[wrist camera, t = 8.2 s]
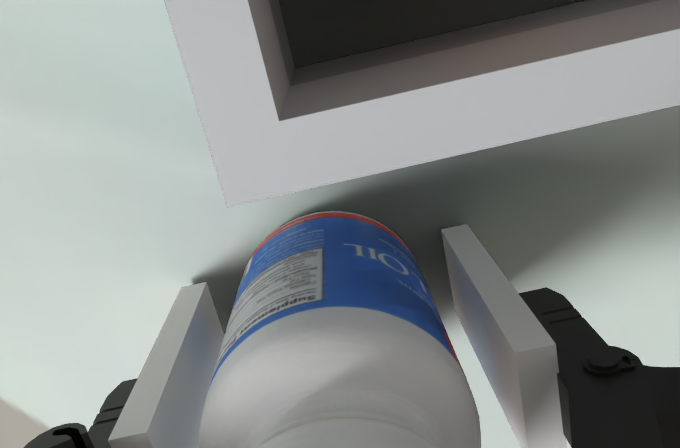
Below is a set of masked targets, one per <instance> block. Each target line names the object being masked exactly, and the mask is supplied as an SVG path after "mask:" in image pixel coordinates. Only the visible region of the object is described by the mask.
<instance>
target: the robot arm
mask: <svg viewBox="0 0 680 448" xmlns="http://www.w3.org/2000/svg"><path fill="white" fill-rule="evenodd" d="M441 233H442V238H443V244H444V250H445V256H446V261H447V267H448V273H449V279H450V284H451V290H452V296H453V302H454V307H455V312H456V314H457V316H458V318H459V320H460V322H461V324H462V326H463V328H464V330H465V332H466V334H467V337H468V339H469V341H470V343H471V345H472V347H473V349H474V351H475V353H476V355H477V357H478V359H479V361H480V363H481V366H482V368H483V370H484V372H485V374H486V376H487V378H488V380H489V382H490V384H491V386H492V388H493V390H494V392H495V395H496V397H497V399H498V401H499V403H500V405H501V407H502V409H503V411H504V413H505V415H506V417H507V419H508V421H509V424H510V426H511V428H512V430H513V432H514V434H515V436H516V438H517V440H518V442H519V444H520V446H521V448H567V442H566V439H567V440H568V442H569V444H570V445H571V447H572V448H680V367H650V366H645V365H643V364H642V363H641V361H640V359H639V358H638V357H637V356H636V355H634V354H633V353H631V352H629V351H628V350H625V349H621V348H618V347H615V346H608V345H607V344H606V342H605V341H604V340H603V339H602V338H601V337H600V336H599V335H598V333H597V332H596V331H595V330H594V329H593V328H592V327H591V326H590V325H589V323H588V322H587V321H586V320H585V319H584V318H582V317H581V315H580V313H579V312H578V311H577V310H576V309H574V308H573V306H572V305H571V303H570V302H569V301H568V300H567V299H566V298H565V297H564V296H563V295H561V294H559V293H557V292H555V291H553V290H551V289H548V288H542V289H537V290H533V291H528V292H523V293H519V294H518V292H517V291H516V290H515V288H514V287H513V286H512V284H511V283H510V282H509V280H508V279H507V277H506V276H505V275H504V273H503V272H502V271H501V269H500V268H499V267H498V265H497V264H496V263H495V261H494V260H493V259H492V257H491V256H490V255H489V253H488V252H487V250H486V249H485V248H484V246H483V245H482V244H481V242H480V241H479V240H478V238H477V237H476V236H475V234H474V233H473V232H472V230H471V229H470V228H469V226H468V225H467V224H463V225H459V226H454V227H450V228H445V229H441ZM223 339H224V333H223V330H222V327H221V324H220V321H219V318H218V315H217V312H216V309H215V306H214V303H213V300H212V297H211V294H210V291H209V288H208V285H207V282H203V283H199V284H194V285H190V286H185V287H182V288H181V290H180V292H179V294H178V296H177V298H176V300H175V302H174V304H173V306H172V308H171V310H170V312H169V315H168V317H167V319H166V321H165V323H164V325H163V327H162V329H161V331H160V333H159V335H158V337H157V339H156V342H155V344H154V346H153V348H152V350H151V352H150V354H149V356H148V358H147V360H146V362H145V364H144V366H143V369H142V371H141V373H140V375H139V377H138V378H137V379H133V380H128V381H124V382H121V383H120V384H119V385H118V386H117V387H116V388H115V389H114V390H113V391H112V392H111V393H110V394H109V395H108V396H107V398H106V400H105V402H104V403H103V405H102V407H101V409H100V413H99V414H98V415H97V416H96V418H95V420H94V422H93V426H91V428H90V429H89V431H88V432H87V430H86V427H85V426H84V425H81V424H79V423H69V424H64V425H61V426H57V427H54V428H52V429H50V430H48V431H46V432H44V433H42V434H40V435H39V436H37V437H36V438H35V439H33V440H32V441H30V442H29V443H28V444H27V445H26V446H25V447H24V448H199V430H200V423H201V418H202V414H203V410H204V405H205V401H206V397H207V394H208V390H209V386H210V383H211V379H212V376H213V373H214V369H215V366H216V363H217V359H218V356H219V353H220V349H221V346H222V342H223Z"/></svg>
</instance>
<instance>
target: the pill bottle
mask: <svg viewBox="0 0 680 448" xmlns="http://www.w3.org/2000/svg"><path fill="white" fill-rule="evenodd" d="M199 448H481V432H480V422H479V415H478V411H477V407H476V404H475V401H474V398H473V395H472V392H471V390H470V387H469V384H468V382H467V379H466V376H465V374H464V372H463V369H462V367H461V365H460V363H459V360H458V358H457V356H456V353H455V351H454V349H453V346H452V344H451V342H450V340H449V337H448V335H447V332H446V330H445V328H444V325H443V323H442V321H441V318H440V316H439V313H438V311H437V308H436V306H435V304H434V301H433V299H432V297H431V294H430V292H429V289H428V287H427V285H426V282H425V280H424V277H423V275H422V273H421V270H420V268H419V266H418V264H417V262H416V260H415V258H414V256H413V255H412V253H411V251H410V250H409V248H408V247H407V246H406V244H405V243H404V242H403V241H402V240H401V239H400V237H398V236H397V235H396V234H395V233H394V232H393V231H392V230H390V229H389V228H388V227H386V226H385V225H383V224H381V223H379V222H378V221H376V220H374V219H371V218H369V217H366V216H363V215H360V214H356V213H350V212H343V211H325V212H317V213H312V214H308V215H305V216H302V217H299V218H296V219H294V220H292V221H290V222H288V223H286V224H284V225H282V226H281V227H279V228H278V229H276V230H275V231H273V232H272V233H271V234H270V235H269V236H268V237H267V238H266V239H265V240H264V241H263V242H262V243H261V244H260V245H259V246H258V248H257V249H256V250H255V252H254V253H253V255H252V257H251V258H250V260H249V261H248V263H247V266H246V268H245V271H244V274H243V276H242V280H241V282H240V285H239V288H238V292H237V296H236V299H235V302H234V306H233V309H232V312H231V316H230V319H229V322H228V325H227V329H226V332H225V336H224V339H223V342H222V346H221V349H220V353H219V356H218V359H217V363H216V366H215V369H214V373H213V376H212V379H211V383H210V386H209V390H208V394H207V397H206V401H205V405H204V410H203V414H202V418H201V423H200V430H199Z"/></svg>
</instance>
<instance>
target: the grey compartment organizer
mask: <svg viewBox="0 0 680 448" xmlns="http://www.w3.org/2000/svg"><path fill="white" fill-rule="evenodd" d="M164 2H165V6H166V9H167V12H168V15H169V19H170V22H171V25H172V29H173V32H174V35H175V38H176V42H177V45H178V48H179V51H180V55H181V58H182V61H183V64H184V68H185V71H186V74H187V78H188V81H189V84H190V87H191V91H192V94H193V97H194V100H195V104H196V107H197V110H198V114H199V117H200V120H201V123H202V127H203V130H204V133H205V136H206V140H207V143H208V146H209V150H210V153H211V156H212V159H213V163H214V166H215V169H216V172H217V176H218V179H219V182H220V186H221V189H222V192H223V195H224V199H225V202H226V205H227V208H228V207H232V206H237V205H241V204H246V203H250V202H254V201H259V200H263V199H268V198H272V197H276V196H281V195H285V194H290V193H294V192H298V191H303V190H307V189H312V188H316V187H321V186H325V185H329V184H334V183H338V182H343V181H347V180H351V179H356V178H360V177H365V176H369V175H373V174H378V173H382V172H387V171H391V170H395V169H400V168H404V167H409V166H413V165H417V164H422V163H426V162H431V161H435V160H439V159H444V158H448V157H453V156H457V155H461V154H466V153H470V152H475V151H479V150H483V149H488V148H492V147H497V146H501V145H506V144H510V143H514V142H519V141H523V140H528V139H532V138H536V137H541V136H545V135H550V134H554V133H558V132H563V131H567V130H572V129H576V128H580V127H585V126H589V125H594V124H598V123H602V122H607V121H611V120H616V119H620V118H624V117H629V116H633V115H638V114H642V113H646V112H651V111H655V110H660V109H664V108H669V107H673V106H677V105H680V0H586V1H581V2H577V3H573V4H568V5H564V6H560V7H556V8H551V9H547V10H543V11H539V12H534V13H530V14H526V15H521V16H517V17H513V18H509V19H504V20H500V21H496V22H492V23H487V24H483V25H479V26H474V27H470V28H466V29H462V30H457V31H453V32H449V33H444V34H440V35H436V36H432V37H427V38H423V39H419V40H415V41H410V42H406V43H402V44H397V45H393V46H389V47H385V48H380V49H376V50H372V51H368V52H363V53H359V54H355V55H350V56H346V57H342V58H338V59H333V60H329V61H325V62H321V63H316V64H312V65H308V66H303V67H299V68H295V66H294V62H293V57H292V53H291V49H290V45H289V41H288V37H287V33H286V28H285V24H284V20H283V16H282V12H281V8H280V4H279V0H164Z"/></svg>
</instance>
